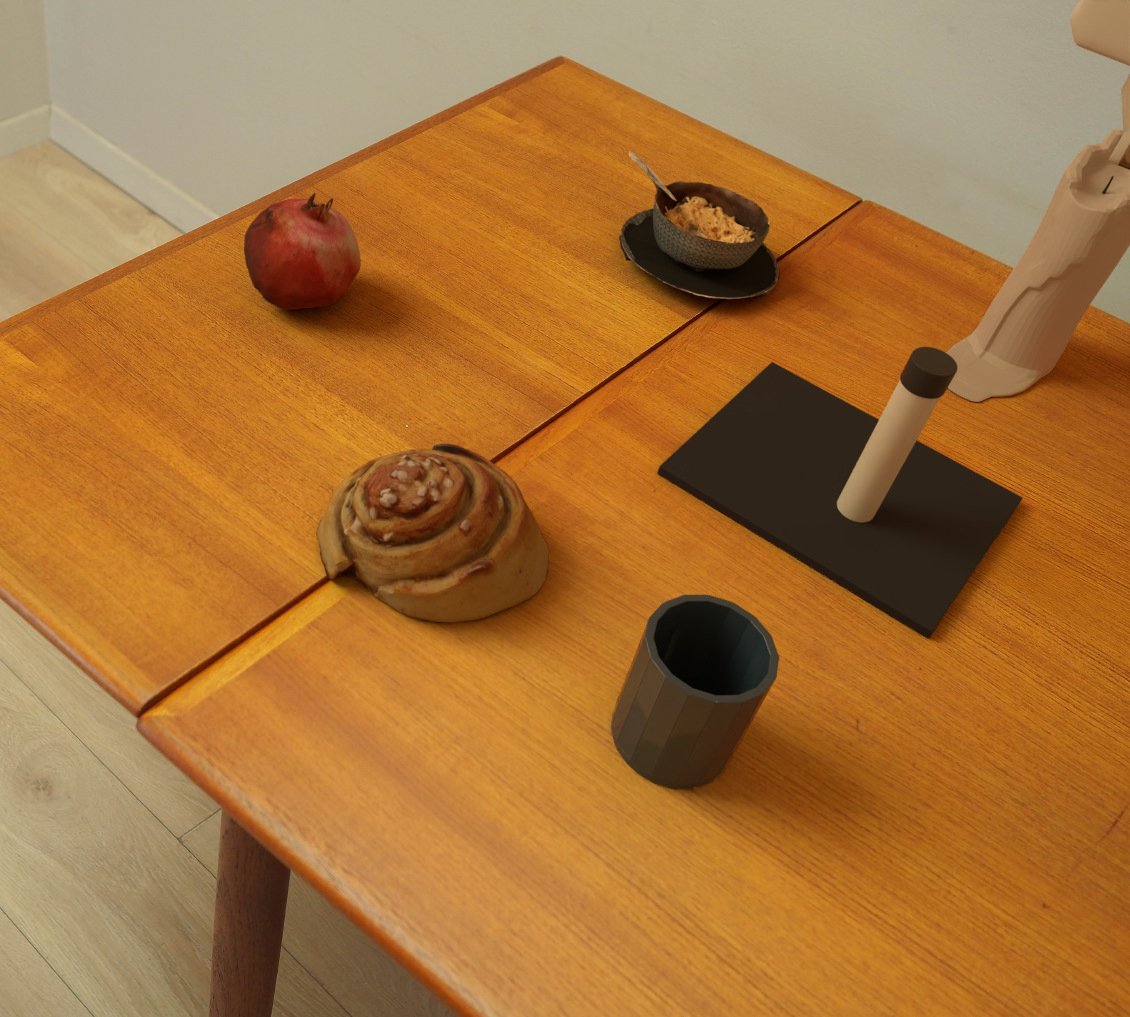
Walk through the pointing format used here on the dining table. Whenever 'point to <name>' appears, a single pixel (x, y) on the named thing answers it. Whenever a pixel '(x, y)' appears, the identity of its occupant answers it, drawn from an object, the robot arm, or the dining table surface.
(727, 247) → the soup bowl
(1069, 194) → the candle
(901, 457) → the marker
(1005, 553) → the dining table surface
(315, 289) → the fruit
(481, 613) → the pastry
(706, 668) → the pen cup
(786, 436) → the mat
